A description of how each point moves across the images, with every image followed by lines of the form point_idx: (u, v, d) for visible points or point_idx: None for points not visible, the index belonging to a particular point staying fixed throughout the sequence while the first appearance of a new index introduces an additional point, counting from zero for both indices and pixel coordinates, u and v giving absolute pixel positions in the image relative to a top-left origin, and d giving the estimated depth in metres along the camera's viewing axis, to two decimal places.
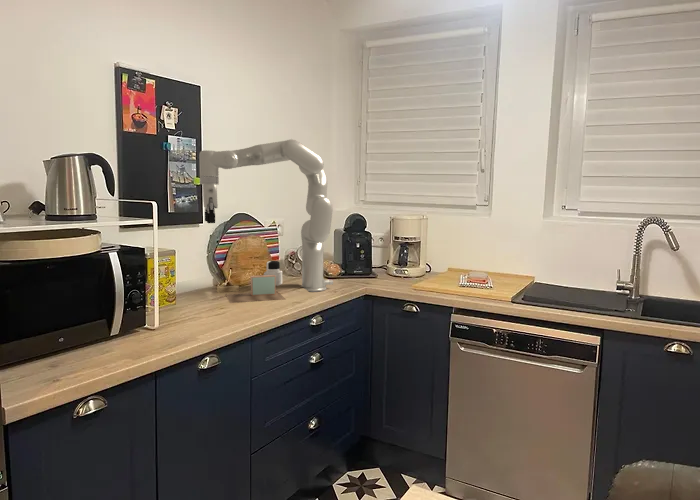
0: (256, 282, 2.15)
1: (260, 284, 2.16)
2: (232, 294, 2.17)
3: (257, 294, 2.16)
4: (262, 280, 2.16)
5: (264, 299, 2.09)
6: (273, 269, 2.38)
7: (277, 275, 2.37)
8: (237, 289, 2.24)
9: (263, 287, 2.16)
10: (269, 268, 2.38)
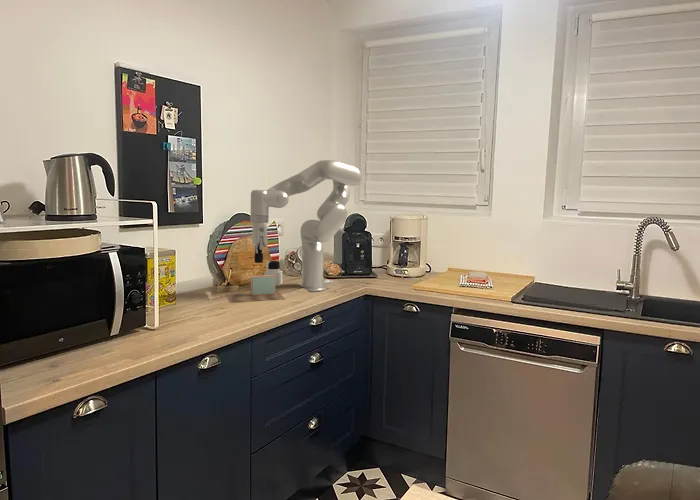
0: (256, 282, 2.15)
1: (260, 284, 2.16)
2: (232, 294, 2.17)
3: (257, 294, 2.16)
4: (262, 280, 2.16)
5: (264, 299, 2.09)
6: (273, 269, 2.38)
7: (277, 275, 2.37)
8: (237, 289, 2.24)
9: (263, 287, 2.16)
10: (269, 268, 2.38)
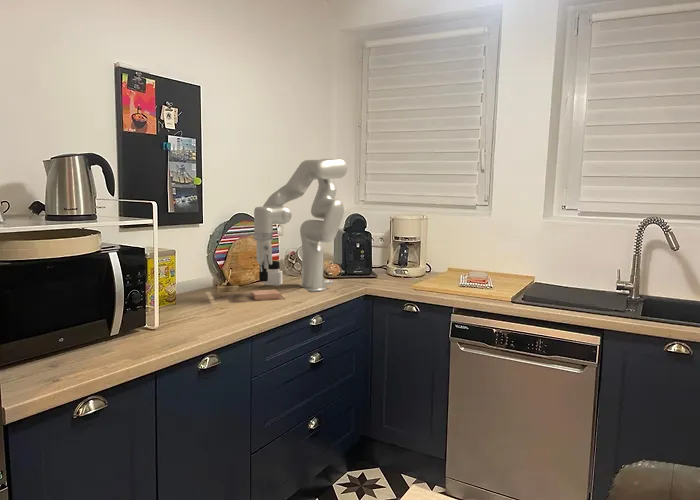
0: None
1: None
2: (232, 294, 2.17)
3: None
4: None
5: (264, 299, 2.09)
6: (273, 269, 2.38)
7: (277, 275, 2.37)
8: (237, 289, 2.24)
9: None
10: (269, 268, 2.38)
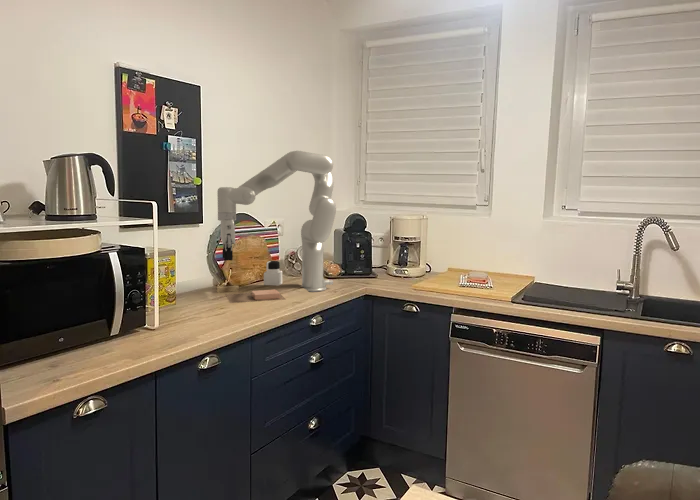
0: None
1: None
2: (232, 294, 2.17)
3: None
4: None
5: (264, 299, 2.09)
6: (273, 269, 2.38)
7: (277, 275, 2.37)
8: (237, 289, 2.24)
9: None
10: (269, 268, 2.38)
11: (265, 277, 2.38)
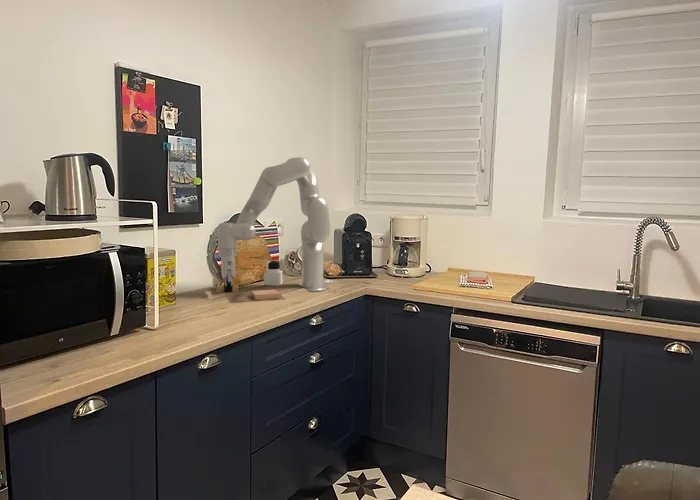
0: None
1: None
2: (232, 294, 2.17)
3: None
4: None
5: (264, 299, 2.09)
6: (273, 269, 2.38)
7: (277, 275, 2.37)
8: (236, 289, 2.24)
9: None
10: (269, 268, 2.38)
11: (265, 277, 2.38)
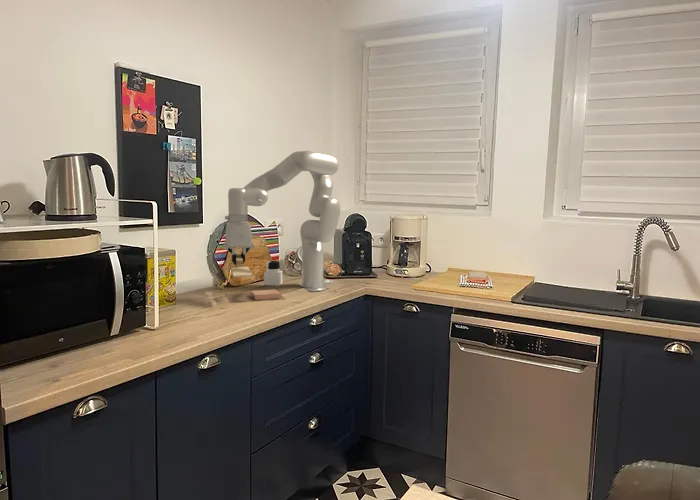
0: None
1: None
2: (232, 294, 2.17)
3: None
4: None
5: (264, 299, 2.09)
6: (273, 269, 2.38)
7: (277, 275, 2.37)
8: (236, 262, 2.10)
9: None
10: (269, 268, 2.38)
11: (265, 277, 2.38)
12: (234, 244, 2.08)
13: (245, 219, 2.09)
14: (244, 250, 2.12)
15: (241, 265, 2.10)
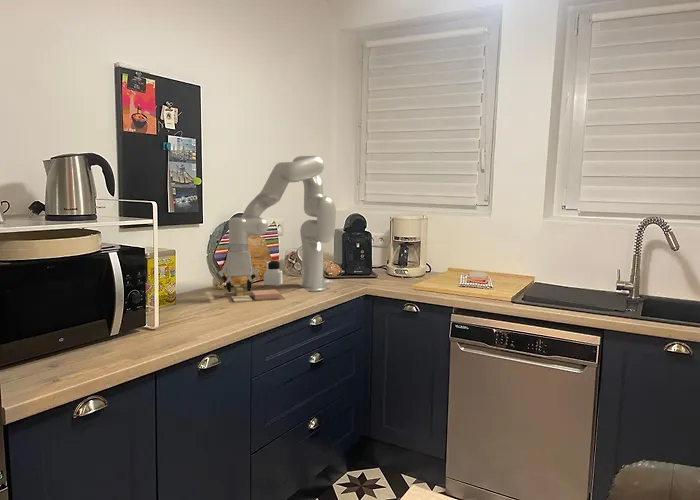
0: None
1: None
2: (232, 294, 2.17)
3: None
4: None
5: (264, 299, 2.09)
6: (273, 269, 2.38)
7: (277, 275, 2.37)
8: (236, 291, 2.12)
9: None
10: (269, 268, 2.38)
11: (265, 277, 2.38)
12: (235, 273, 2.10)
13: (245, 248, 2.10)
14: (249, 277, 2.14)
15: (241, 294, 2.12)
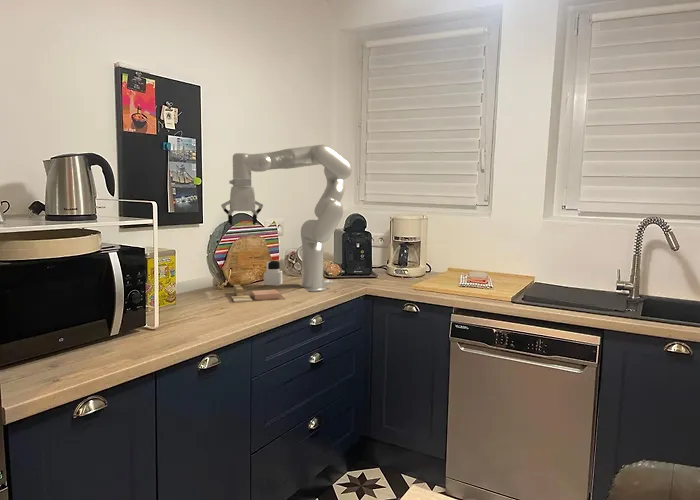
0: None
1: None
2: (232, 294, 2.17)
3: None
4: None
5: (264, 299, 2.09)
6: (273, 269, 2.38)
7: (277, 275, 2.37)
8: (236, 291, 2.12)
9: None
10: (269, 268, 2.38)
11: (265, 277, 2.38)
12: (238, 207, 2.15)
13: (249, 183, 2.15)
14: (254, 211, 2.19)
15: (241, 294, 2.12)
